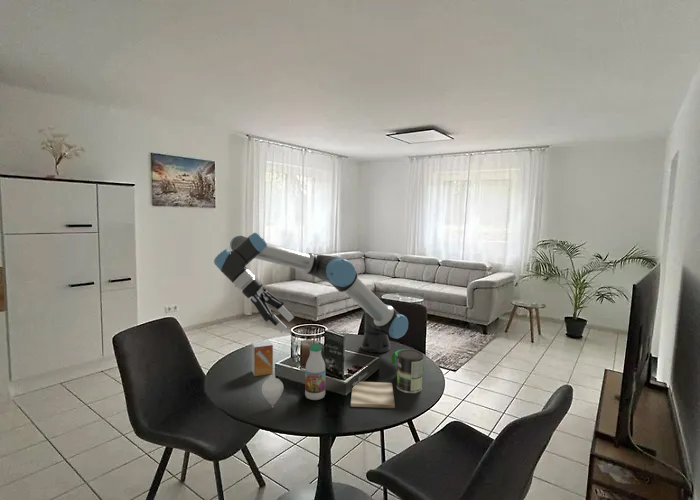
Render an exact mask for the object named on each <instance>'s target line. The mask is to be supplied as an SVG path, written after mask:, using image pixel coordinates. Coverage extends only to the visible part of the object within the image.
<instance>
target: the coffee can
mask: <svg viewBox="0 0 700 500" xmlns="http://www.w3.org/2000/svg"><path fill="white" fill-rule="evenodd" d="M400 350H401V351H399V352H398V365H397V364H396V369H397V371H396V388H397V390H398V391H400V392H403V393H405V394H417V393H420V392H421V391H422V390H423V389H422V388H423V372H422V368H423V367H424V353H422V352H421V351H419V350H415V349H409V350H402V349H400Z"/></svg>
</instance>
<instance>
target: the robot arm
mask: <svg viewBox="0 0 700 500" xmlns="http://www.w3.org/2000/svg"><path fill="white" fill-rule="evenodd" d="M229 243H230V244H229V245H230V246H229V247H230V249H231V250H230V249H229V248H225V249H224V250H223V251H221V252H220V253H218V254H217V256H215V257H214V260H213V264H214V265H215V266H216V268H218V270H220V271H221V272H222V274H223V275H224V276H226V278H227V279H228V280H229V281H230V282H232V284H234V287H235V288H237V289H238V290H239V291H241V292H242V294H243V295H244V296H245V297H246V298H247V299H250V301H251V303H252V304H253V305H254V306H255V307H256V309H257V311H258V312H259V314H260V315H261V317H262V318H263V320H264V321H265V322H270V323H271V324H272V325H273V326H274V327H275V328H276V329H277V330H278V331H279V332H280V333H284V331H285V330H286V329H287V328H288V327H287V326H286V325H285V323H283V322H282V321H281V320H280V319H279V317H278V316H276V314H273V312H272V310H271V308H270V306H272V307H273V308H275V309H277V312H278V313H280V314H281V316H282V317H283V318H284V319H285V320H287V322H291V321H292V320H293V319H294V318H295V316H294V315H293V314H292V313H291V312H290V311H289V310H288V309H287V308H286V307H285V305H284V304H285V303H284V302H283V301H282V300H281V299H279V298H278V297H276V296H275V295H274V294H272V293H271V292H269V290H267V289H266V288H265V287H264V288H263V289H262V287H263V286H264V284H263V283H262V282H261V281H260V279H258V278H256V275H255V274H254V273H252V271H251V270H249V268H247V265H249V264H250V262H252V261H253V260H254V259H258V260H261V261H264V262H265V261H266V262H269V263H273V264H276V265H281V266H285V267H289V268H293V269H296V270H299V271H300V270H301V271H303V273H304V274H308V275H310V276H313V277H315V278H317V279H320V280H322V281H324V282H327V283H329V284H330V285H331V286H332V287H334V288H335V289H336V290H337V292H339V293H345V294H347V295H348V297H350V299H352V300H353V301H354V302H355V304H358V306H359V307H360V308H361V309H363V311H364V334H363V337H362V339H361V342H360V348H361V350H363V351H364V350H365V352H367V351H369V352H368V353H372V352H378V353H377V354H380V353H381V354H382V353H386V352H389V351H390V350H391V342H390V339H389V337H390V338H393V339H397V340H398V339H400V338H402V337H403V336H405V335H406V333H407V331H408V329H409V320H408V318H407V316H405V315H404V314H401V313H399V312H398V311H397V310H396V309H395V308H394V307H393V306H392V305H390V304H385V302H383V301H382V300H381V299H380V298H379V297H378V296H377V295H376V294H375V293H374V292H373V291H372V290H371V289H370V288H369V287H368V286H367V285H366V284H365V283H364V282H362V280H360V279H359V278H358V276H359V275H358V272H357V271H356V268H355V266H354V264H353V263H352V262H351V261H349V260H347V258H346V259H345V258H343V257H337V256H332V255H324V254H317V253H312V252H308V253H304V252H301V251H297V250H294V249H290V248H286V247H282V246H280V245H275V244H272V243H268V242H266V240H265V239H264V238H263V236H261V235H260V234H259V233H258V232H253V233H252V234H251V235H248V237H247V236H242V235H236V236H234V237H232V239H231V241H230V242H229ZM269 305H270V306H269Z"/></svg>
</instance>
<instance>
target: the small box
mask: <svg viewBox="0 0 700 500" xmlns="http://www.w3.org/2000/svg"><path fill="white" fill-rule="evenodd" d="M273 352H274V344H273V343H272V342H271V340H263V341H256V342H251V372H252V374H253V376H254V377H258V376H265V375H274V374H273V372H274V370H273V369H274V367H273V366H274V364H273V362H274V361H273V360H274V353H273Z"/></svg>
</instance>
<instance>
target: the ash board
mask: <svg viewBox="0 0 700 500" xmlns="http://www.w3.org/2000/svg"><path fill="white" fill-rule="evenodd" d="M358 382H359V383H358V384H357V385H355V386H354V387H353V388H352V387H351V389H352V390H351V397H350V407H354V408H355V407H356V408H358V407H359V408H360V407H361V408H381V409H382V408H383V409H395V408H396V403H395V397H394V389H393V388H394V387H393V383H392V382H378V381H377V382H375V381H358Z"/></svg>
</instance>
